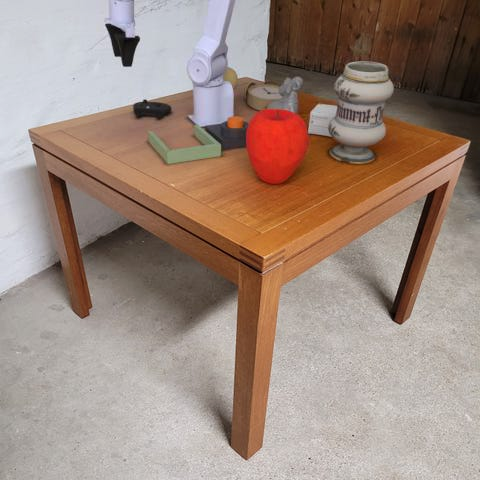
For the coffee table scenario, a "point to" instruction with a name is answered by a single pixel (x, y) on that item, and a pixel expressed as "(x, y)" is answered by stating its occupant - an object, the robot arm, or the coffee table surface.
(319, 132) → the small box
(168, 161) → the dock
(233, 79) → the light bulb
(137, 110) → the game controller
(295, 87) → the figurine
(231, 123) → the button
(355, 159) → the apothecary jar
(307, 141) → the apple
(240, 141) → the push button box
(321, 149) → the coffee table surface
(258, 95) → the alarm clock
